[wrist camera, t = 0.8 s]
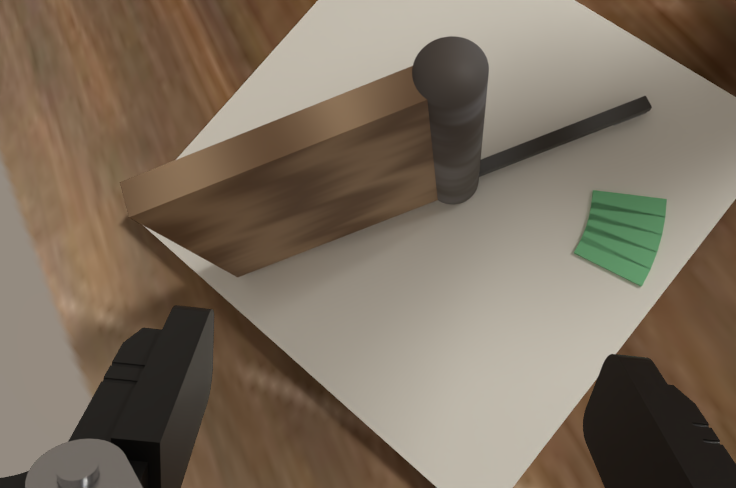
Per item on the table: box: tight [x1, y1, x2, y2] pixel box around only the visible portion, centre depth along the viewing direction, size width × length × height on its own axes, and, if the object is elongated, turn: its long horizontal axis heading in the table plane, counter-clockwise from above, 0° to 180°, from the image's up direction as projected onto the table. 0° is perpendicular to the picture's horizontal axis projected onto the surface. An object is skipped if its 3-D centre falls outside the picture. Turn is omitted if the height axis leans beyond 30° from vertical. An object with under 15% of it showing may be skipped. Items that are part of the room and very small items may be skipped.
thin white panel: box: [143, 0, 736, 488], centre depth 39 cm, size 28×28×1 cm
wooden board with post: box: [120, 36, 652, 277], centre depth 31 cm, size 26×3×13 cm, turn 110°
